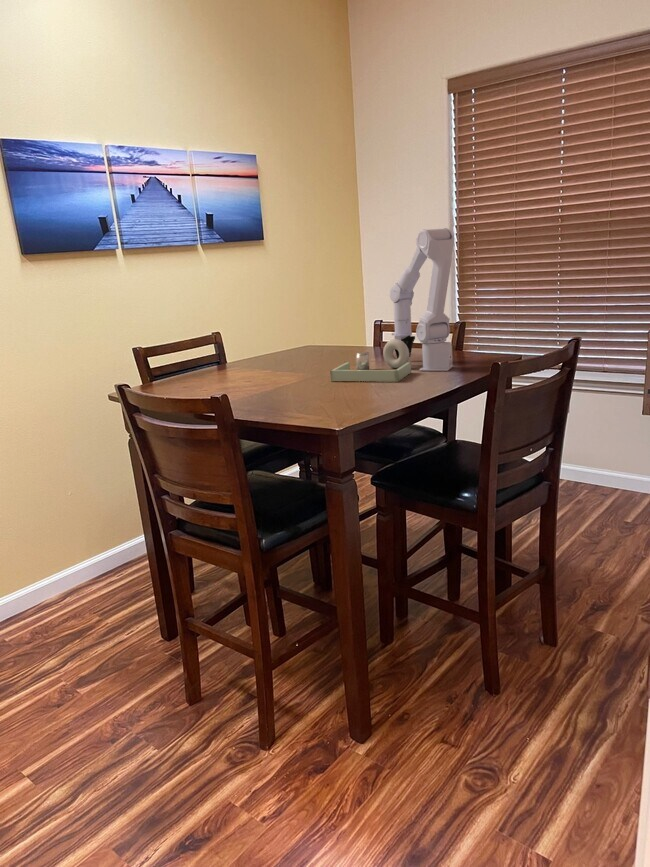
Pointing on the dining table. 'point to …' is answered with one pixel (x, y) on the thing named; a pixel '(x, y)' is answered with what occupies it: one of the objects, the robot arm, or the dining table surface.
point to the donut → (401, 349)
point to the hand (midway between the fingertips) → (404, 359)
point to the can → (362, 361)
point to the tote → (369, 374)
